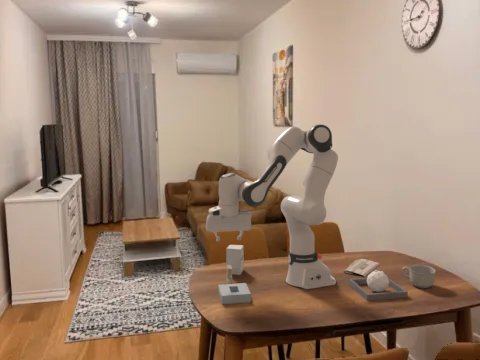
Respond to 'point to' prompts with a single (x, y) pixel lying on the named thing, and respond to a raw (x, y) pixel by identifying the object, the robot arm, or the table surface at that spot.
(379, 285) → the decorative ball
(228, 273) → the wooden peg
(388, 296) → the grey rectangular frame
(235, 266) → the supplement box
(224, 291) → the grey peg hole block
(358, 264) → the newspaper
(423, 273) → the teacup
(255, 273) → the table surface
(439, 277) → the table surface
